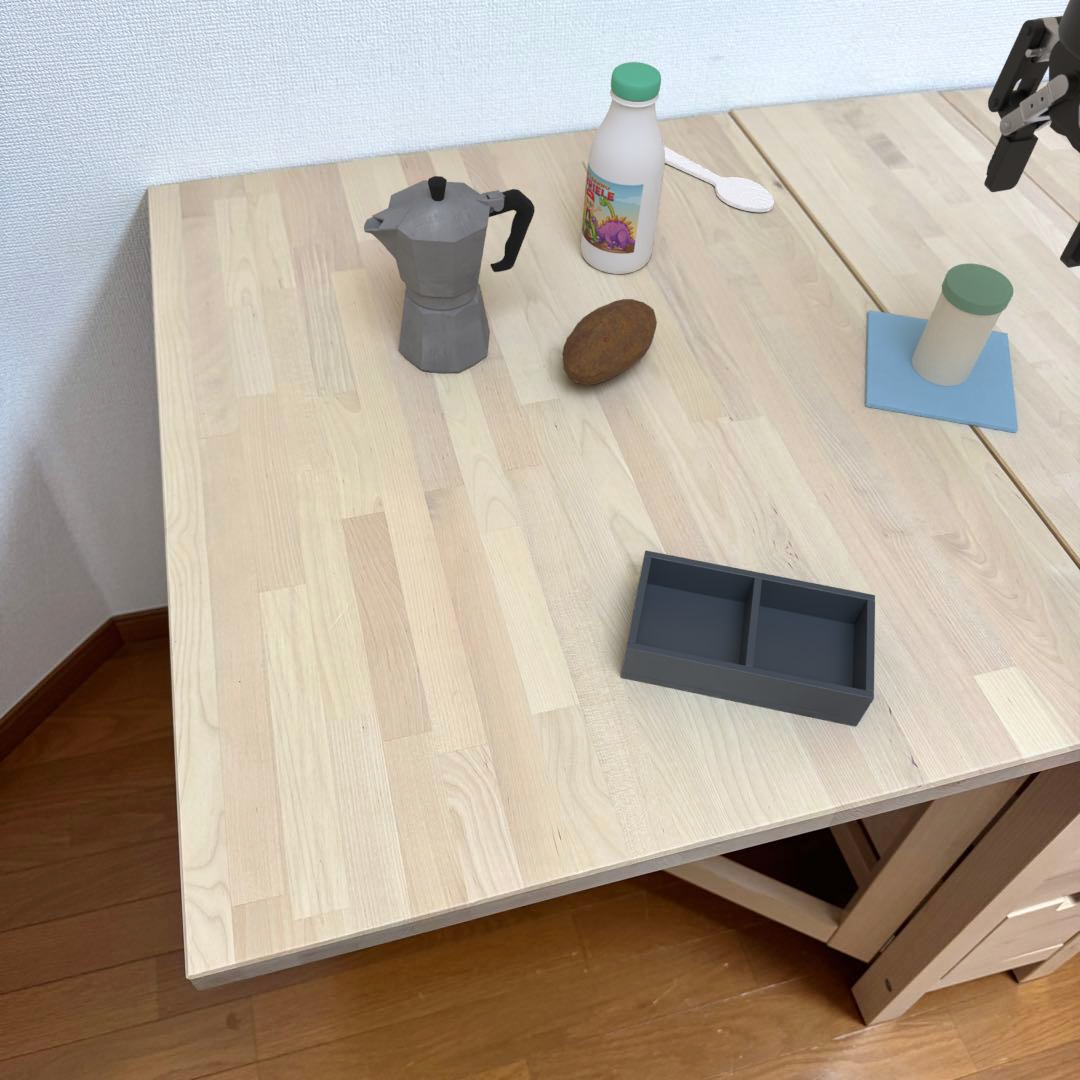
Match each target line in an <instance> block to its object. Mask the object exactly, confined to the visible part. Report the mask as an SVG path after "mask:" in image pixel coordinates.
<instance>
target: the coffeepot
mask: <svg viewBox="0 0 1080 1080" xmlns="http://www.w3.org/2000/svg"><path fill="white" fill-rule="evenodd" d="M511 211H514V212H515V214H514V216H513V219H512V222H511V227H510V233H509V236H508V238H507V239H506V241H505V243H504V255H503V258H502V259H501V260H498V261H496V262H493V263H490V268H491V269H492V272H493V273H500V272H504V271H509V270H511V269H513V267H515V264H516V261H517V258H518V255H519V253H520V250H521V248H522V246H523V243H524V240H525V239H526V235H527V232H528V229H529V227H530V225H531V223H532V220H533V219H534V216H535V211H536V209H535V205H534V203H533V201H532V200H531V199H530V198H529V197H528V196H527V195H525V194H524V193H523V192H522V191H521V190H520V189H517V188H511V189H508V190H505V191H500V190H499V189H498V190H492V191H491V190H490V191H485V192H482V193H479V192H478V191H477V190H475V189H474V188H473V187H471V186H469V185H468V184H467V183H465V182H459V181H448V179H447V178H445V177H444V176H441V175H440V176H439V175H433V176H432V177H429V178H428V180H421V181H419V182H417V183H415V184H412V185H410V186H408V187H406V188H404V189H402V190H399V191H397V192H395V193H392V194H391V195H390V198H389V202H388V207H387V208H384V209H383V210H381V211H378V212H377V213H375V214H373V215H372V216H371V217H369V218H367V219H366V221H365V223H364V225H363V231H364V233H365V234H366V233H367V234H371V235H372V236H373V237H374V238H376V239H377V240H378V241H379V242H380V243H381V244H382V246H383V247H384V248H385V249H386V250H387V251H388V252H389V253H390V255H391V256H392V257H393V258H394V259H395V262H396V267H397V269H398V273H399V274H398V275H399V278H400V280H401V281H402V282H403V283H404V284H405V291H404V297H403V308H402V315H401V324H400V334H399V343H398V352H399V353H400V354H401V355H402V356H403V357H404V358H405V359H406V360H407V361H408V362H409V364H412V365H413V366H415V367H416V368H418V369H420V370H421V371H425V372H429V373H433V374H454V373H460V372H463V371H466V370H468V369H470V368H473V367H475V366H476V365H477V364H478V363H480V362H481V361H482V360H483V359H485V358H486V357H487V356H488V352H489V351H488V350H489V341H490V334H491V333H490V332H491V331H490V330H491V329H490V326H489V321H488V316H487V312H486V307H485V302H484V298H483V293H482V287H481V284H480V282H479V281H480V274H481V270H482V269H481V267H482V262H483V257H484V256H483V255H484V250H485V249H484V248H485V242H486V237H487V229H488V225H489V219H490V218H491V217H495V216H498V215H502V214H504V213H508V212H511Z"/></svg>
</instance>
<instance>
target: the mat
mask: <svg viewBox="0 0 1080 1080" xmlns="http://www.w3.org/2000/svg"><path fill="white" fill-rule="evenodd" d="M866 320H867V321H866V323H867V325H866V360H865V361H866V367H865V407H868V408H872V409H877V410H883V411H890V412H894V413H901V414H907V415H912V416H917V417H923V418H928V419H934V420H935V419H936V420H941V421H945V422H946V421H947V422H951V423H957V424H964V425H967V426H968V425H969V426H975V427H978V428H979V427H980V428H985V429H991V430H996V431H1002V432H1009V433H1015V434H1016V433H1017V432H1018V430H1019V425H1018V417H1017V415H1018V414H1017V407H1016V399H1015V397H1016V396H1015V389H1014V379H1013V370H1012V363H1011V362H1012V361H1011V353H1010V344H1009V333H1007V332H1002V331H997V330H992V332H991V334H990V336H989V338H988V340H987V342H986V344H985V346H984V348H983V350H982V352H981V354H980V355H979V357H978V359H977V361H976V363H975V365H974V367H973V369H972V371H971V373H970V375H969V377H968V379H967V380H966V381H965V382H963V383H961V384H959V385H955V386H941V385H937V384H934V383H931V382H929V381H927V380H925V379H924V378H922V377H921V376H920V375H919V374H918V373H917V372H916V371H915V370H914V368H913V365H912V357H913V354H914V352H915V350H916V348H917V345H918V343H919V341H920V339H921V336H922V334H923V332H924V329H925V327H926V325H927V323H928V320H929V319H925V318H920V317H919V318H918V317H913V316H907V315H901V314H894V313H890V312H884V311H883V312H882V311H877V310H872V309H869V310H868V311H867V319H866Z"/></svg>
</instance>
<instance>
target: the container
mask: <svg viewBox="0 0 1080 1080" xmlns="http://www.w3.org/2000/svg"><path fill="white" fill-rule="evenodd" d="M1013 296H1014V286H1013V284H1012V282H1011V281H1010V280H1009V278H1008V277H1006V276H1005V275H1004V274H1003V273H1001V272H1000V271H999V270H997V269H994V268H993V267H990V266H988V265H984V264H979V263H961V264H957V265H955V266H953V267H951V268H950V269H948V271H947V272H946V274H945V277H944V279H943V281H942V283H941V291H940V293H939V296H938V298H937V300H936V302H935V305H934V307H933V309H932V311H931V313H930V316H929V318H928V319H927V320H928V323H927V325H926V327H925V329H924V332H923V334H922V336H921V339H920V341H919V343H918V345H917V348H916V350H915V352H914V354H913V357H912V365H913V368H914V370H915V371H916V372H917V373H918V374H919V375H920V376H921V377H922V378H924V379H925V380H927V381H929V382H931V383H934V384H937V385H941V386H955V385H959V384H961V383H963V382H965V381H966V380H967V379H968V377H969V375H970V373H971V371H972V369H973V367H974V365H975V363H976V361H977V359H978V357H979V355H980V354H981V352H982V350H983V348H984V346H985V344H986V342H987V340H988V338H989V336H990V334H991V332H992V331H994V328H995V326H996V324H997V322H998V320H999V319H1000V317H1001V315H1002V313H1003V312H1004V311H1005V310H1006V309H1007V307H1008V305H1009V304H1010V303H1011V300H1012V298H1013Z"/></svg>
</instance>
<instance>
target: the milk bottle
mask: <svg viewBox="0 0 1080 1080" xmlns="http://www.w3.org/2000/svg"><path fill="white" fill-rule="evenodd" d="M661 84H662V75H661V73H660V71H659V70H658V69H657V68H656V67H654V66H653V65H650V64H648V63H644V62H639V61H629V62H624V63H621V64H619V65H617V66H616V67H614V69H613V70H612V73H611V79H610V90H609V95H610V98H611V102H610V104H609V108H608V111H607V113H606V115H605V117H604V119H603V120H602V122H601V123H600V124H599V126H598V128H597V130H596V132H595V134H594V137H593V138H592V142H591V145H590V149H589V153H588V160H587V161H588V162H587V169H586V178H585V179H586V180H585V190H584V200H583V201H584V202H583V213H582V222H581V223H582V224H581V235H580V252H581V254H582V256H583V259H584V260H585V262H586V263H587V264H588V265H589V266H591V267H593V268H594V269H596V270H598V271H601V272H603V273H607V274H615V275H623V274H630V273H634V272H637V271H639V270H641V269H642V268H644V267H645V266H646V265H647V264H648V262H649V261H650V259H651V258H652V253H653V248H654V244H655V242H654V241H655V238H656V237H655V235H656V230H657V222H658V215H659V209H660V204H661V203H660V202H661V196H662V188H663V183H664V182H663V181H664V173H665V164H666V163H665V148H664V146H665V143H664V138H663V134H662V131H661V128H660V125H659V121H658V117H657V112H656V103H657V102H658V100H659V98H660V94H659V93H660V92H661V91H660V90H661Z"/></svg>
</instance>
